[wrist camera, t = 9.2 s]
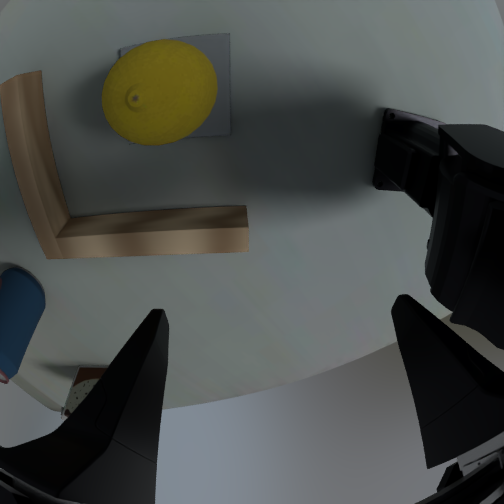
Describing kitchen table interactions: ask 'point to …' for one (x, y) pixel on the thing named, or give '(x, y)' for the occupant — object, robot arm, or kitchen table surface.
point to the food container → (81, 387)
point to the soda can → (17, 317)
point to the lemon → (159, 92)
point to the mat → (219, 56)
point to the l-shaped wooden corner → (100, 226)
